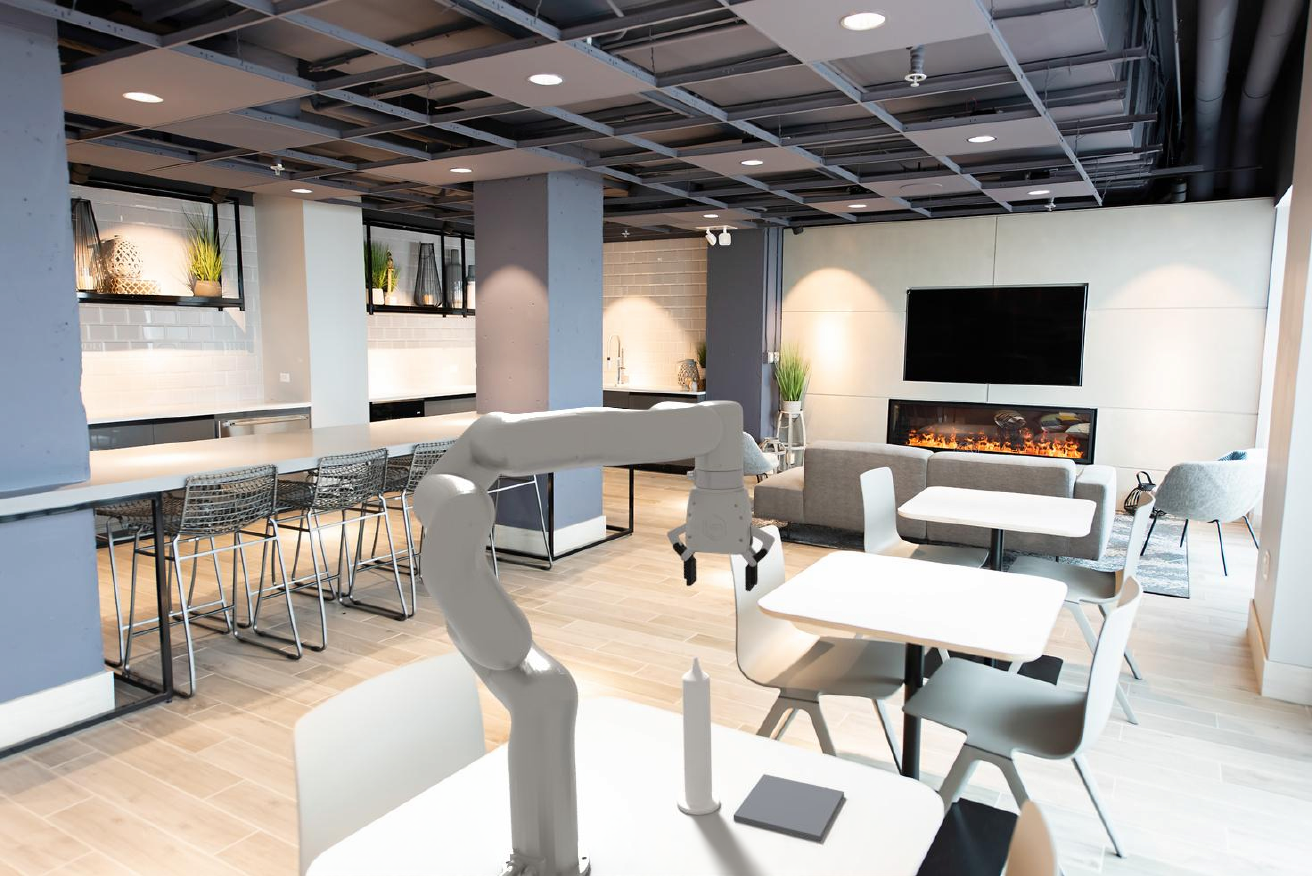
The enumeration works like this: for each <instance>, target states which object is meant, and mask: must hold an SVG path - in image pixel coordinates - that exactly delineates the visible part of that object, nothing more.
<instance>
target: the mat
mask: <svg viewBox="0 0 1312 876" xmlns="http://www.w3.org/2000/svg"><path fill="white" fill-rule="evenodd" d="M844 797H845V791H842V790H838V789H833V788H828V787H823V786H819V785H817V784H811V783H806V782H801V781H797V780H793V779H789V778H788V779H787V778H783V777H779V776H774V775H770V774H766V773H763V775H762V776H761V777H760V779H759V780H758V782H756V784H755V786H754V787H753V788H752V789H751V791H750V792H749V794H748V795H747V796H746V798H745V799H744V800H743V802H742V803H741V804H740V805H739V807H738V808H737V810H736V811H735V812H734V813H733V821H739V822H742V823H745V824H749V825H754V826H758V827H761V828H766V829H770V830H774V831H778V832H783V833H786V834H789V835H794V836H798V837H801V838H805V839H809V840H813V841H817V842H821V840H822V838H823V836H824V834H825V832H826V831H827V829H828V827H829V825H830V823H831V822H832V820H833V817H835V815H836V812H837V810H838V808H839V807H840V805H841V803H842V801H843V799H844Z"/></svg>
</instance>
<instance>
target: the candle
mask: <svg viewBox="0 0 1312 876" xmlns="http://www.w3.org/2000/svg"><path fill="white" fill-rule="evenodd" d="M681 690H682V691H681V692H682V693H681V694H682V730H683V731H682V734H683V737H682V738H683V776H684V777H683V778H684V782H683V783H684V784H683V785H684V790H683V791H682V792H680V793H679V794H678V796H677V798H676V804H677V808H678V809H679V810H680V811H682V812H684V813H686V814H688V815H695V816H703V815H709V814H711V813H714V812H715V811H716V810H718V808H719V807H720V806H721V798H720V796H719V795H718V793H716V792H715V791H713V776H712V775H713V772H712V771H713V770H712V768H713V767H712V766H713V765H712V764H713V763H712V727H711V726H712V725H711V724H712V723H711V722H712V719H711V717H712V716H711V715H712V714H711V713H712V711H711V677H710V675H709V674H708V673H707V672H706V671H704V670H702V668H701V666H700V664H699V660H698V657H697V656H694V657H693V661H692V665H691V668H690V669H689V670H688V671H687V672H685V673H684V674H683V675H682V677H681Z"/></svg>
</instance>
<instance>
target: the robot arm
mask: <svg viewBox="0 0 1312 876" xmlns="http://www.w3.org/2000/svg"><path fill="white" fill-rule="evenodd" d="M694 458H695V459H694ZM687 459H689V460H690V459H694V462H695V463H694V465H695V467H694V469H693V470H690V471H689V470H688V471H687V473H686V479H687V480H688V481H689V480H690V481H693V485H694V486H693V487H691V488H690V489H689V493H688V500H687V509H686V518H685V523H683V524H681V525H679V526H676V527H675V528H673V529H670V530H669V531H668V532H667V533H666V536H667V538H668V540H669V542H670V543H671V545H672V549H673V550H674V552H676V554H677V555H678V556H679V557H680V560H681V561H682V562H683V579H684V580H686V587H691V586H692V585H694V584H695V583H696V582H697V559H696V557H695V556H694V555H695V553H703V554H715V555H716V554H717V555H729V556H731V555H732V556H733V555H735V556H739V555H741V556H742V558H743V559H744V560H745V561H746V563H747V564H746V566H745V569H744V572H745V574H744V576H745V585H744V586H745V588H744V589H745V591H746V592H751V591H752V590H753V589H754V588H755V586H756V585H757V584H758V581H759V578H758V576H759V574H758V570H759V569H758V568H759V566H758V565H759V563H760V561H761V560H763V559H764V558H765V557H766V556H767V555H768V554H769V552H770V550H771V548H772V547H773V545H774V544H775V541H776V539H775V537H774V536H773V535H771V534H769V533H768V532H766V531H764V530H763V529H761V528H759V527H758V526H756V525H754V522H753V513H752V504H751V499H750V494H749V490H748V488H747V487H744V483H745V482H744V481H745V480H744V479H745V478H744V473H745V472H744V409H743V406H742V405H741V404H740V403H739V402H737V401H736V400H735V401H733V400H705V401H702V402H697V403H696V402H695V403H694V402H693V403H691V402H682V401H679V402H678V401H670V400H669V401H662V402H659V403H656V404H654V405H653V406H651V407H650V408H648V409H623V408H614V407H599V406H598V407H597V406H596V407H595V406H592V407H580V408H571V409H562V410H561V409H560V410H552V411H539V412H529V413H518V414H517V413H515V414H511V413H507V412H502V411H493V412H489V413H485V414H483V415H481V416H480V417H479V418H477V419H476V420H475V421H474V422H472V423H471V424H470V425H469V426H468V427H467V428H466V429H465V430H464V431H463V433H461V435H460V436H459V437H458V438H457V439H456V440H455V441H454V443H452V445H450V447H449V448H448V449H447V450H446V451H445V452H444V454H442V456H440V458H438V460H437V461H436V462H435V463H434V464H433V465H432V467H430V468H429V470H428V471H427V472H426V473H425V474H424V476H422V478H421V479H420V481H419V482H418V484H417V485H416V487H415V489H414V492H413V494H412V503H411V504H412V505H411V506H412V511H413V515H414V517H415V518H416V520H417V521H418V522H419V524H420V525H421V526H422V527H424V528H425V529H426V533H425V535H424V539H423V541H422V545H421V550H420V551H421V552H420V562H419V563H420V565H419V567H420V575H421V579H422V582H423V585H424V586H425V589H426V591H427V593H428V595H429V596H430V597H431V599H432V600H433V602H434V603H435V605H436V606H437V608H438V609H439V611H440V613H441V614H442V616H443V617H444V618H445V628H446V632H447V634H448V636H449V639H450V640H451V642H452V644H453V645H454V646H455V647H456V649H457V651H459V652H460V654H461V655H462V657H463V658H464V659H465V661H466V662H467V663H468V665H469V666H470V667H471V669H472V670H473V671H474V673H476V675H477V676H478V678H479V679H480V680H481V682H482V683H483V684H484V686H486V688H487V689H488V690H489V692H490V693H491V694H492V695H493V696H494V697H495V698H496V699H497V701H499V702H500V704H502V706H503V707H504V708H505V709H506V710H507V711H508V713H509V716H510V730H509V737H508V741H507V742H508V743H507V768H508V769H507V770H508V785H509V787H508V788H509V789H508V790H509V804H510V805H509V806H510V807H509V809H510V810H509V811H510V826H511V827H510V829H511V850H510V851H508V853H507V854H506V855H505V857H504V859H503V861H502V867H501V868H502V869H501V870H502V871H501V872H500V873H499V874H497V876H586V875H587V873H588V872H589V869H590V863H591V862H590V853H589V851H588V849H587V847H586V846H585V844H583V843H581V842H579V826H578V821H579V820H578V804H577V803H578V796H577V773H576V772H577V771H576V769H577V768H576V752H575V751H576V750H575V749H576V748H575V747H576V746H575V745H576V742H575V741H576V740H575V739H576V738H575V733H576V723H577V715H578V709H579V692H578V691H579V690H578V686H577V683H576V681H575V678H574V677H573V676H572V674H571V672H570V671H569V670H568V669H567V667H565V665H563V664H562V663H561V662H560V661H559V660H557V659H556V658H555V657H553V656H552V655H551V654H549V653H548V652H546V651H544V649H542V647H540V646H539V645H538V644H537V643H536V642H535V641H534V639H533V632H532V627H531V625H530V622H529V620H528V617H527V616H526V614H525V612H523V610H522V609H521V608H520V607H519V606H518V604H516V602H515V601H514V599H513V598H512V597H511V595H510V594H509V593H508V591H507V590H506V589H505V587H504V586H503V583H501V582H500V580H499V579H498V577H497V575H496V574H495V572H494V570H493V569H492V568H491V566H490V564H489V562H488V559H487V555H486V551H487V550H486V549H487V544H488V543H487V542H488V540H489V536H490V534H491V532H492V529H493V526H494V522H495V517H496V508H495V504H494V500H493V498H492V497H491V495H490V494H489V492H488V490H489V489H490V488H491V487H492V485H493V484H494V483H495V481H497V479H498V478H499V477H500V476H501V475H502V476H506V477H516V478H517V477H528V476H535V475H536V476H537V475H542V474H549V473H550V474H551V473H556V472H561V471H562V472H563V471H564V472H565V471H570V470H571V471H572V470H579V469H587V468H594V467H615V466H625V465H627V466H628V465H638V464H653V463H665V462H666V463H667V462H674V461H682V460H687ZM684 533H685V544H684V543H683V542H682V541H681V538H680V535H682V534H684ZM754 538H755V539H758V540H759V541H761V542H762V545H761V547H760V549H759V551H756V550H755V549H754V547H753V544H754Z"/></svg>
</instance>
